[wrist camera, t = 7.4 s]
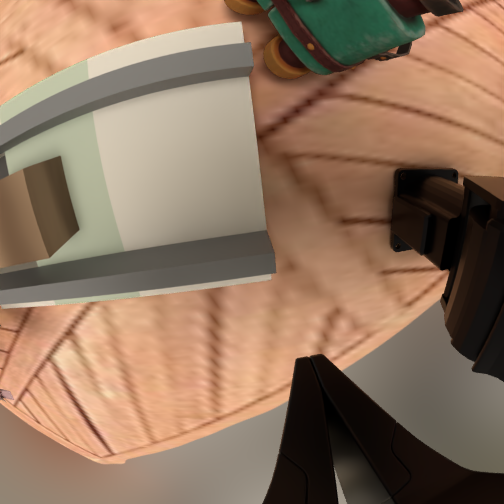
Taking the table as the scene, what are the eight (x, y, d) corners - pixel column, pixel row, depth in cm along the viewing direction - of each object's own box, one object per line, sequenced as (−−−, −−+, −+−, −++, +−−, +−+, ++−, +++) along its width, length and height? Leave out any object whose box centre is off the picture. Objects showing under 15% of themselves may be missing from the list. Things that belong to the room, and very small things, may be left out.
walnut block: (60, 155, 13) (22, 168, 10) (79, 229, 16) (49, 258, 12) (11, 176, 13) (-26, 193, 10) (30, 241, 16) (-1, 268, 12)
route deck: (239, 31, 13) (244, 1, 9) (267, 265, 20) (279, 307, 16) (-36, 142, 12) (-73, 154, 8) (12, 297, 20) (-13, 327, 15)
